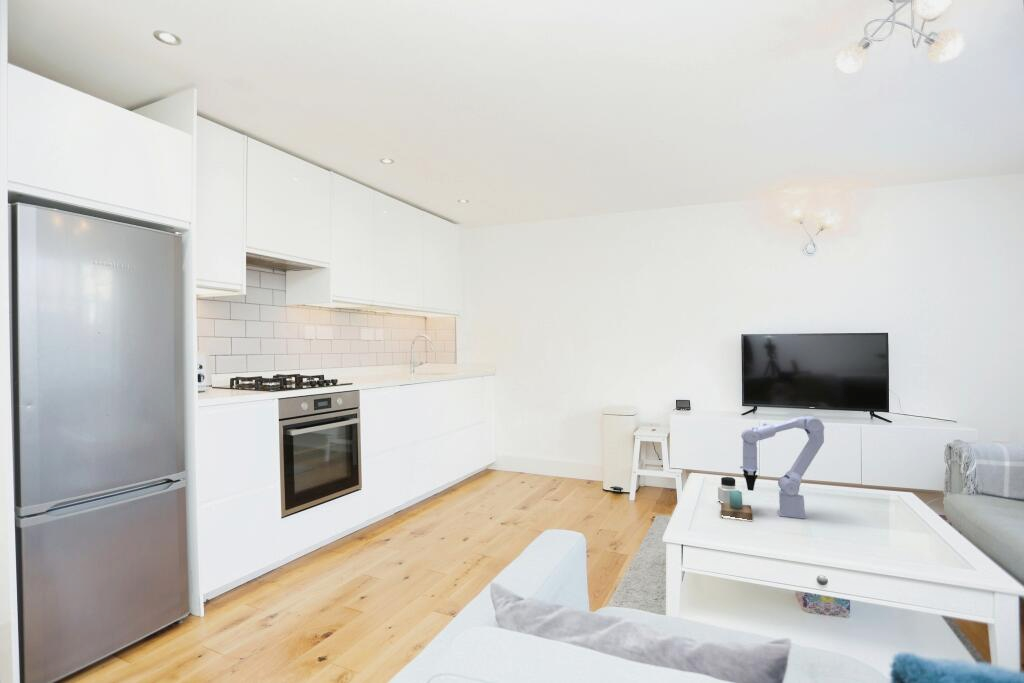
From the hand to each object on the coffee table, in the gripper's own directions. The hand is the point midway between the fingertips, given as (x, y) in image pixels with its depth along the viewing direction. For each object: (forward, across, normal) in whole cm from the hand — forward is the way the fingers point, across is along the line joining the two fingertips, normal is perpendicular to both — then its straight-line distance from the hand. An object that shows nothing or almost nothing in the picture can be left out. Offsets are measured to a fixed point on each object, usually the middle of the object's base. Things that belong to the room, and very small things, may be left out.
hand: (750, 488), depth 226 cm
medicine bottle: (+11, -11, -9) cm, 18 cm away
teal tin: (+7, +8, -6) cm, 12 cm away
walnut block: (+11, +8, -6) cm, 15 cm away
